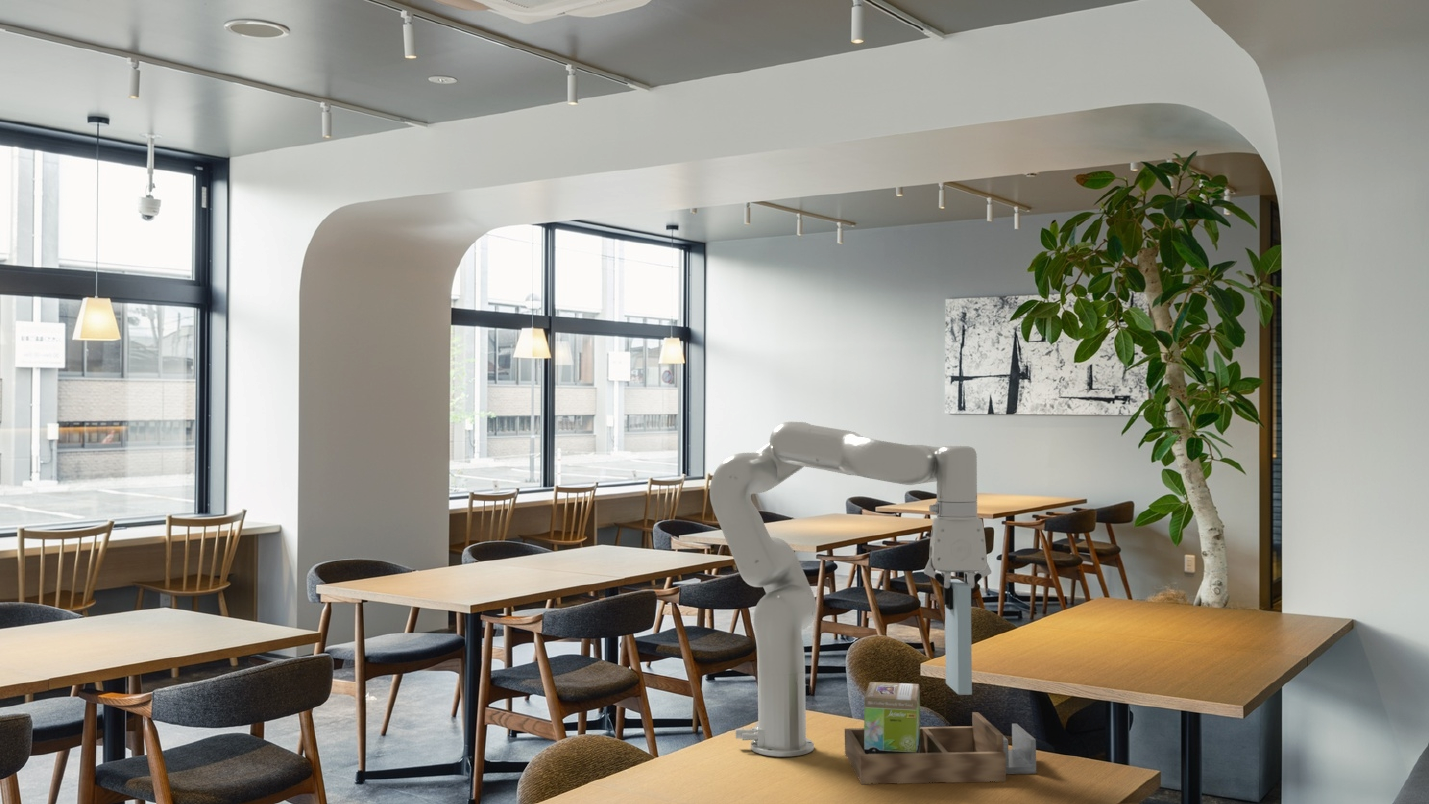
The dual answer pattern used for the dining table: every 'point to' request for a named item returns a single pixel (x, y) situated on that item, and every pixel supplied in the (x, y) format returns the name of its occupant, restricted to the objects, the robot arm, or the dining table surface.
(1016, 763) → the stand
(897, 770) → the divided tray
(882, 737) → the tea box
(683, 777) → the dining table surface
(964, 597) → the rectangular block
